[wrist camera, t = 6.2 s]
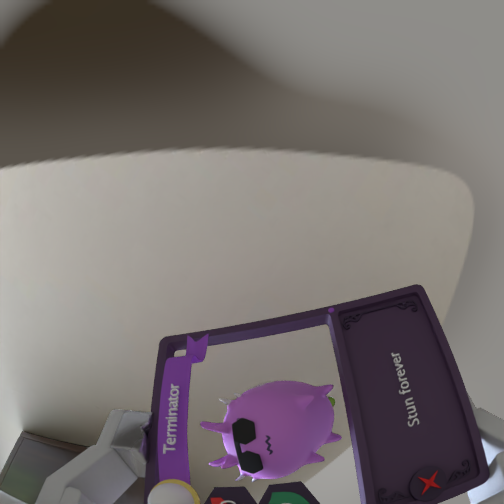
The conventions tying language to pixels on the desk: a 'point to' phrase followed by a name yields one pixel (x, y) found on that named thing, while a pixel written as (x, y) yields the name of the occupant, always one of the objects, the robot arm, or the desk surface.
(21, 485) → the case
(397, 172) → the desk surface
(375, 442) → the game card
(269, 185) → the desk surface
